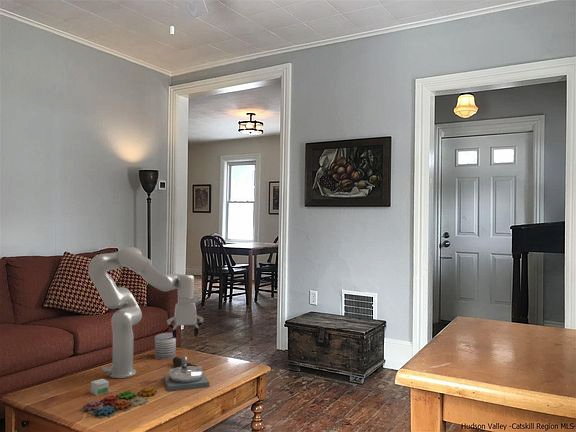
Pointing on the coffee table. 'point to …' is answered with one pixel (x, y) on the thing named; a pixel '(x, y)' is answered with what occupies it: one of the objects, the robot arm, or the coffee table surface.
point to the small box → (99, 386)
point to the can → (165, 346)
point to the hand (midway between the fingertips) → (185, 336)
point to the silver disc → (186, 373)
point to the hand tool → (180, 362)
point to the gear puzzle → (118, 403)
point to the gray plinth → (181, 386)
